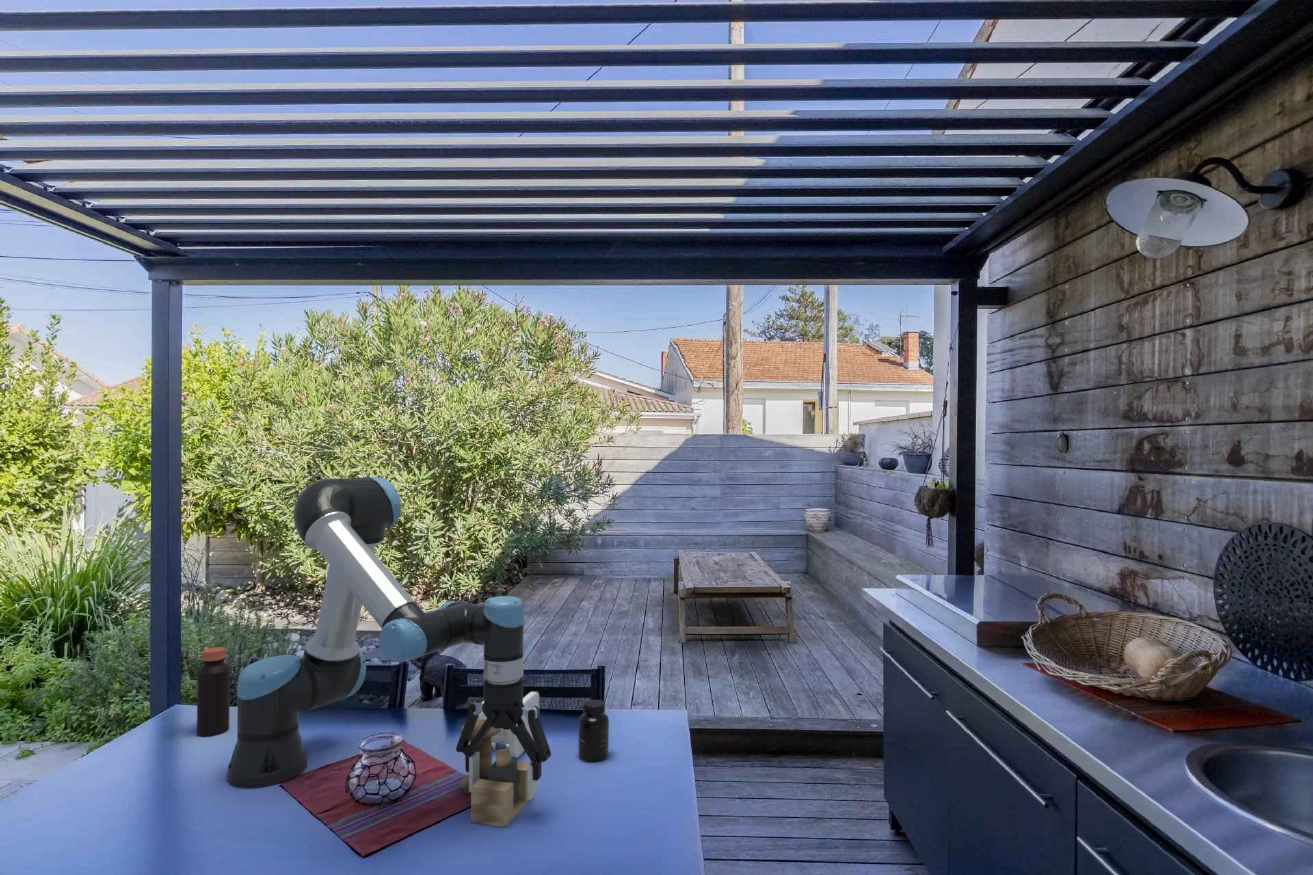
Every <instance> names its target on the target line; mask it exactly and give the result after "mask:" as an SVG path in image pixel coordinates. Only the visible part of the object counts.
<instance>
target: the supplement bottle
mask: <svg viewBox="0 0 1313 875" xmlns="http://www.w3.org/2000/svg"><path fill="white" fill-rule="evenodd" d="M605 704H606V703H605V702H604V701H603V700H601V699H589V700H586V701H584V702H583V706H582V707H583V709H582V712H583V713H582V714H581V715H580V716H579V719H578V745H577V746H578V749H577V750H578V753H577V754H578V757H579V759H580V760H582V761H584V762H587V763H598V762H602V761H604V760H606V759H608V758H607V757H608V756H609V742H610V738H609V737H610V736H609V735H610V733H609V732H610V719H609V715H607V713H605V711H606V705H605Z"/></svg>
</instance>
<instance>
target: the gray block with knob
mask: <svg viewBox="0 0 1313 875" xmlns="http://www.w3.org/2000/svg"><path fill="white" fill-rule="evenodd" d="M517 762H518V761H517V760H512V759H511V756H510V750H509V748H508V749H506V748H501V749H498V750H496V752H495V761H494V762H493V763H492V765H491V766H490V767H489V780H492V781H500V782H508V783H514V784H513V806H514V805H515V804H516V803H517Z"/></svg>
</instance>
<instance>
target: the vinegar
mask: <svg viewBox="0 0 1313 875" xmlns="http://www.w3.org/2000/svg"><path fill="white" fill-rule="evenodd" d="M201 652H202V653H201V654H202V655H201V656H202V657H201V658H202V663H203V666H202V667H201V668H199V670H198V671H197V686H196V687H197V690H196V691H197V693H196V694H197V695H196V696H197V697H196V698H197V700H196V702H197V703H196V734H197V735H198V736H199V737H212V736H218V735H222V734H224V733H225V732H227V731H228V730H229V729H230V697H231V696H230V692H231V691H230V690H231V689H230V688H231V687H230V686H231V685H230V684H231V678H230V676H231V669H230V666H228V665H227V663H226V662H225V660H226V656H227V655H226V652H227V649H226V647H224V646H216V647H215V646H214V647H209V648H204V649H203V650H202V651H201Z"/></svg>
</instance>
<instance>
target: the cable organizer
mask: <svg viewBox="0 0 1313 875" xmlns="http://www.w3.org/2000/svg"><path fill="white" fill-rule="evenodd" d="M481 703H484V700H483V701H482V702H481ZM523 705H524V707H525V708H533V707H534V706H537V707H538V708H539V709H540V694H539V692H538V691H530V692H529V693H528V694H526V695H525V696H523ZM521 718H522V719H523V721H524V723H525V727H526V729H527V731H528V732H529V734H530V736H531V737H532V739H533V736H532V733H531V730H530V728H529V724H528V720H526V716H525V715H524V714H523V715H522V717H521ZM480 719H487V718H486V716H485V715H484V713H483V711H481V713H480V714H479V716H478V719H477V720H480ZM516 726H518V725H517V724H516ZM533 740H534V739H533ZM497 744H504V745H505V749H508V750H510V758H511V757H512V758H513V757H514V758H516V759H517V758H518V757H519V756H522V755H523V753H524V752H525V750H524V749H523V747H522V745H521V744H520V742H519V740H518V739H517V737H516V735H515V734H513V733H512V732H511V730H510V729H509V730H505V729H502V728H501V731H500V732H499V733H498V734H497V735H495V736H492V751H495V750H496V745H497ZM519 758H520V757H519ZM519 758H518V759H519Z"/></svg>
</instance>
